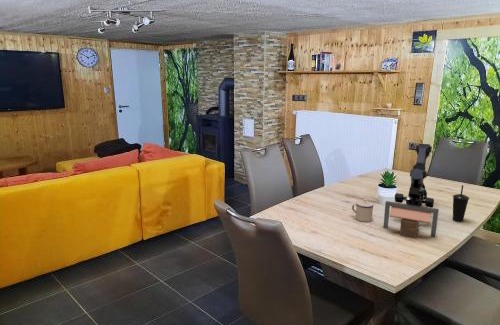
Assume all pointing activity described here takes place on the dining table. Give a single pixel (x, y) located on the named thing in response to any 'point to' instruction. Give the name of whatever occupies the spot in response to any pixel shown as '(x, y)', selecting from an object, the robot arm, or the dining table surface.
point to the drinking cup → (459, 206)
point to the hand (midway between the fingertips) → (411, 214)
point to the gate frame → (412, 207)
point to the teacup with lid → (363, 210)
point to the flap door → (410, 214)
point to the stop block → (409, 228)
